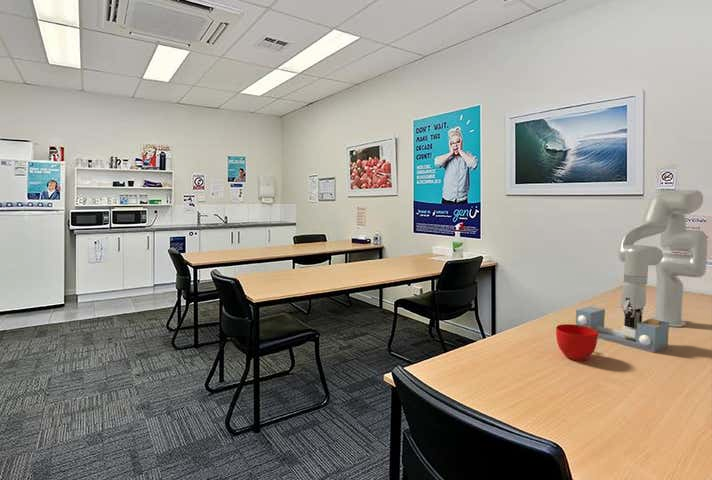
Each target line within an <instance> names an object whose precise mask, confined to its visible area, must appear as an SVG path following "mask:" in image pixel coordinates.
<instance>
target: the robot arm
mask: <svg viewBox="0 0 712 480" xmlns="http://www.w3.org/2000/svg"><path fill="white" fill-rule="evenodd" d="M703 203H704V195H703V193H702V192H701V191H700V190H698V189H683V190H682V189H681V190H679V189H678V190H677V189H675V190H674V189H672V190H671V189H669V190H659V191H656V192H654V193H653V194H652V196H651V198H650V199H649V201H648V205H647V208H646V210H645V213H644V215H643V219H642V222H641V223H639V224H638V225H636V226H634V227H633V228H632V229H630V230H629V231H628V232H627V233H626V234H625V235H624V236H623V238H622V241H621V243H620V246H619V249H618V253H617V254H618V259H619V261H621V263H624V265H623V268H624V269H623V286H622V291H621V297H620V298H621V300H620V307H621V308H622V311H623V313H624V314H623V315H624V323H623V326H627V327H631V328H634V320H635V318H634V312H635V311H637V312H640V319H639V323H640V322H643V314H644V313H643V311H644V307H645V306H646V303H647V286H646V285H648V278H649V276H648V273H649V266H652V267H653V266H655V271H656V287H655V288H656V289H655V308H654V316H651V317H650V318H649V319H655V320H659V321H664V322H669V327H672V328H673V327H674V328H680V327H686V325H687V324H686V323H687V322H686V321H684V320H682V317H683V297H684V284H683V282H682V280H681V279H680V278H679V277H688V278H702V277H703V276H705V274H706V271H707V261H708V259H707V257H708V236H707V234H706V232H704V231H703V230H699V229H687V228H686V222H687V221H686V220H687V218H686V216H685V215H690V214H693V213H694V212H696V211H699V209H700V208H701V207H702V205H703ZM656 235H660V246H661V248H662V249H664V250H667V251H674V252H675V251H676V252H684V253H685V252H688V253H691V255H690V254H684V253H671V252H668V253H667V252H666V253H663V251H662V249H661V248H660V247H658V246H657V247H656V246H651V245H650V246H649V245H638V244H635V243H636V242H638V241H640V240H642V239H644V238H645V239H646V238H649V237H652V236H656ZM630 311H631V312H630Z"/></svg>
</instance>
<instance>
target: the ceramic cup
mask: <svg viewBox="0 0 712 480" xmlns="http://www.w3.org/2000/svg"><path fill="white" fill-rule="evenodd" d="M555 332H556V333H555V335H556V343H557V345H558V347H559V350H560V351H561V352H562V354H563V355H564V357H566V358H568V359H570V360H572V361H579V362H580V361H585V360H587V359H588V358H590V357H591V356H592V354H593V353H594V352H595V350H596V346H597V344H598V339H599V338H598V332H597V331H596V330H595V329H592V328H589V327H586V326H581V325H576V324H573V323H572V324H571V323H569V324H567V323H563V324H560V325H559V324H558V325H557V326H556V327H555Z"/></svg>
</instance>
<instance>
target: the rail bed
mask: <svg viewBox="0 0 712 480" xmlns="http://www.w3.org/2000/svg"><path fill="white" fill-rule="evenodd" d="M605 313H606V308H600V307H596V306H591V305H590V306H586V307H583V308H582V307H581V308H579V309H576V311H575V325H581V326H586V327H589V328H592V329H595V330H596V331H597V332H598V338H597V339H600V340H603V341H604V340H605V341H609V342H612V343H615V344H620V345H623V346H627V347H630V348H634V349H637V350H642V351H645V352H649V353H654V354H655V353H657V352H660V351H662V350H664V349H666V348H668V345H669V331H670V326H669V322H664V321H659V325H653V324H649V323H647V320H642V322H640V323H637V334H636V340H635V339H631V338H627V337H623V336H622V334H621V330H615V329H613V328H608V327H605V319H606V318H605V315H606V314H605Z"/></svg>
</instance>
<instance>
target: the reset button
mask: <svg viewBox="0 0 712 480" xmlns="http://www.w3.org/2000/svg"><path fill="white" fill-rule="evenodd" d="M647 323H649V324H653V325H659V320H655V319H650V318H648V319H647Z"/></svg>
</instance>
